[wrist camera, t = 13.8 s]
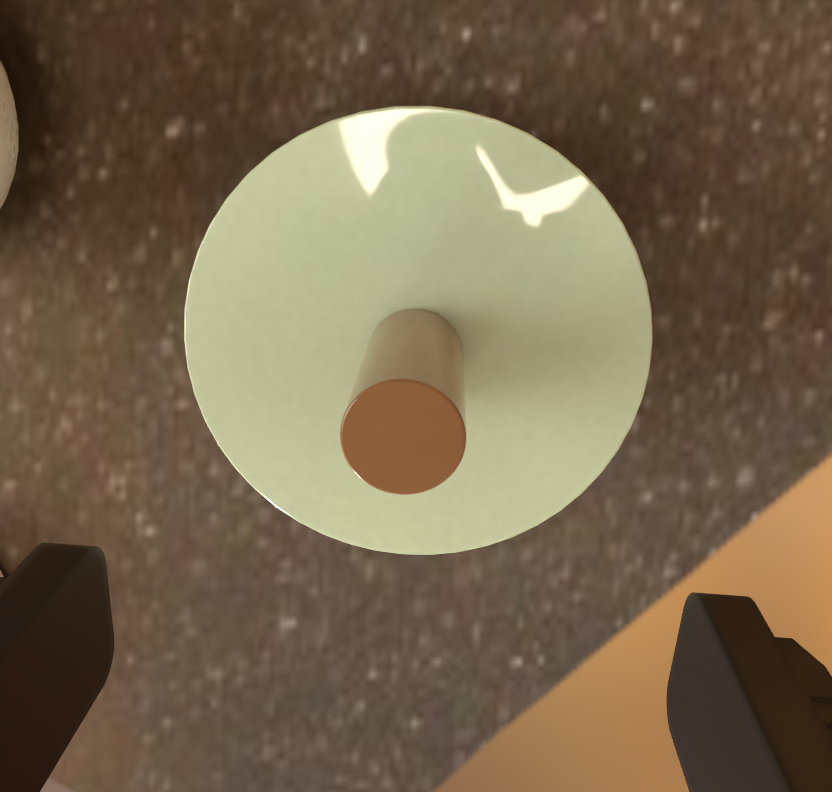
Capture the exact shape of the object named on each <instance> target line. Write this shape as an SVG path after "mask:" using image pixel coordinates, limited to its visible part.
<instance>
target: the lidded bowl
mask: <svg viewBox="0 0 832 792" xmlns="http://www.w3.org/2000/svg"><path fill="white" fill-rule="evenodd" d="M17 155H18V121H17V114H16V108H15V101H14V97H13V94H12V90H11V87H10V84H9V80H8V77H7V74H6V71H5V69H4V67H3V65H2V62H1V60H0V209H1V207H2V205H3V203H4V201H5V199H6V197H7V195H8V192H9V189H10V186H11V183H12V180H13V177H14V174H15V169H16V162H17Z"/></svg>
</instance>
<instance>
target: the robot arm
mask: <svg viewBox="0 0 832 792" xmlns="http://www.w3.org/2000/svg"><path fill="white" fill-rule="evenodd" d="M113 652H114V633H113V624H112V614H111V605H110V596H109V587H108V577H107V568H106V560H105V556H104V553H103V551H102V550H101V549H100V548H99V547H95V546H82V545H68V544H55V543H41V544H40V545H38V546H37V547H36V548H35V549H34V550H33V551H32V552H31V553H30V554H29V555H28V556H27V557H26V558H25V559H24V560H23V561H22V562H21V564H20V565H19V566H18V567H17V568H16V569H15V570H14V571H13V572H12V573H11V574H10V575H9V576H8V577H0V792H40V791H41V789H42V787H43V786H44V784H45V782H46V781H47V779H48V777H49V776H50V774H51V772H52V771H53V769H54V767H55V766H56V764H57V762H58V761H59V759H60V757H61V756H62V754H63V752H64V751H65V749H66V747H67V746H68V744H69V742H70V741H71V739H72V737H73V736H74V734H75V732H76V731H77V729H78V727H79V726H80V724H81V723H82V721H83V719H84V718H85V716H86V714H87V713H88V711H89V709H90V708H91V706H92V704H93V703H94V701H95V699H96V698H97V696H98V694H99V693H100V691H101V689H102V688H103V686H104V684H105V682H106V679H107V677H108V674H109V671H110V668H111V664H112V659H113ZM667 716H668V723H669V729H670V733H671V736H672V739H673V742H674V745H675V748H676V752H677V755H678V758H679V761H680V764H681V767H682V770H683V773H684V776H685V779H686V782H687V786H688V788H689V792H832V677H831V675H830V673H829V672H828V670H827V669H826V667H825V666H824V665H823V664H821V663H820V662H819V661H818V660H817V659H815V658H814V657H813V656H812V655H811V654H810V653H809V652H807V651H806V650H805V649H804V648H803V647H801V646H800V645H799V644H798V643H797V642H796V641H795V640H793V639H792V638H778V637H774V635H773V633H772V632H771V630H770V628H769V627H768V625H767V623H766V621H765V620H764V618H763V616H762V615H761V612H760V611H759V609H758V607H757V605H756V604H755V602H754V601H753V600H752V599H751V598H750V597H746V596H732V595H719V594H706V593H691V594H690V595H689V596H688V597H687V599H686V602H685V605H684V609H683V614H682V619H681V624H680V629H679V633H678V638H677V643H676V647H675V652H674V657H673V662H672V667H671V671H670V676H669V681H668V687H667Z"/></svg>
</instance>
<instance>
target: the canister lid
mask: <svg viewBox="0 0 832 792" xmlns="http://www.w3.org/2000/svg"><path fill="white" fill-rule="evenodd" d="M184 342H185V350H186V358H187V367H188V371H189V375H190V378H191V382H192V386H193V390H194V394H195V397H196V399H197V402H198V404H199V407H200V409H201V412H202V414H203V417H204V419H205V422H206V423H207V425H208V427H209V429H210V431H211V432H212V434H213V436H214V438H215V440H216V441H217V443H218V445H219V447H220V448H221V449H222V451H223V452H224V453H225V455H226V456H227V458H228V459H229V460H230V462H231V463H232V464H233V466H234V467H235V468H236V470H237V471H238V472H239V473H240V474H241V475H242V476H243V477H244V478H245V479H246V480H247V481H248V482H249V483H250V484H251V486H252V487H253V488H254V489H255V490H257V491H258V492H259V493H260V494H261V495H262V496H264V497H265V498H266V499H267V500H268V501H270V502H271V503H272V504H273V505H274V506H276V507H277V508H279V509H280V510H282V511H283V512H285V513H286V514H288V515H289V516H291V517H292V518H294V519H295V520H297V521H298V522H300V523H302V524H304V525H306V526H308V527H310V528H312V529H314V530H316V531H318V532H320V533H322V534H324V535H326V536H329V537H332V538H335V539H337V540H340V541H343V542H345V543H348V544H351V545H356V546H360V547H364V548H368V549H372V550H376V551H383V552H391V553H398V554H423V555H432V554H443V553H453V552H461V551H465V550H470V549H475V548H480V547H484V546H488V545H491V544H494V543H497V542H500V541H503V540H506V539H508V538H511V537H514V536H516V535H518V534H520V533H522V532H524V531H526V530H528V529H531V528H533V527H535V526H537V525H538V524H540V523H542V522H543V521H545V520H546V519H548V518H550V517H551V516H553V515H554V514H556V513H557V512H559V511H561V510H562V509H563V508H564V507H565V506H567V505H568V504H569V503H570V502H572V501H573V500H574V499H575V498H577V497H578V496H579V495H580V494H581V493H582V492H583V491H584V490H585V489H586V488H587V487H588V486H589V485H590V484H591V483H592V482H593V481H594V480H595V479H596V478H597V477H598V476H599V475H600V474H601V473H602V471H603V470H604V469H605V467H606V466H607V464H608V463H609V462H610V460H611V459H612V458H613V456H614V455H615V454H616V452H617V451H618V449H619V448H620V446H621V444H622V442H623V440H624V439H625V437H626V435H627V433H628V431H629V430H630V428H631V426H632V424H633V421H634V419H635V416H636V414H637V411H638V409H639V406H640V404H641V401H642V399H643V395H644V391H645V387H646V383H647V379H648V374H649V370H650V361H651V352H652V342H653V335H652V310H651V304H650V298H649V293H648V287H647V282H646V278H645V275H644V272H643V269H642V266H641V263H640V260H639V257H638V254H637V251H636V249H635V247H634V244H633V242H632V240H631V238H630V236H629V234H628V232H627V230H626V228H625V226H624V224H623V222H622V221H621V219H620V218H619V216H618V215H617V213H616V212H615V211H614V209H613V208H612V206H611V205H610V203H609V202H608V200H607V199H606V197H605V196H604V195H603V194H602V193H601V191H600V190H599V189H598V188H597V187H596V186H595V185H594V184H593V183H592V182H591V181H590V179H589V178H588V177H587V176H586V175H585V174H584V173H583V172H582V171H581V170H580V169H579V168H577V167H576V166H575V165H574V164H572V163H571V162H570V161H569V160H568V159H566V158H565V157H564V156H563V155H562V154H560V153H559V152H558V151H557V150H555V149H553V148H552V147H550V146H549V145H547V144H545V143H544V142H542V141H540V140H539V139H537V138H535V137H534V136H532V135H531V134H529V133H527V132H525V131H523V130H521V129H518V128H516V127H514V126H512V125H509V124H507V123H505V122H502V121H500V120H498V119H495V118H492V117H488V116H484V115H481V114H477V113H473V112H470V111H466V110H462V109H454V108H446V107H439V106H431V105H422V106H392V107H385V108H379V109H372V110H365V111H361V112H358V113H354V114H351V115H348V116H344V117H341V118H337V119H334V120H331V121H328V122H326V123H324V124H322V125H320V126H317V127H315V128H313V129H311V130H309V131H306V132H304V133H302V134H300V135H298V136H297V137H295V138H294V139H292V140H291V141H289V142H287V143H286V144H284V145H283V146H281V147H280V148H278V149H277V150H275V151H273V152H272V153H271V154H270V155H269V156H267V157H266V158H265V159H264V160H263V161H262V162H260V163H259V164H258V165H257V166H256V167H255V168H254V169H252V170H251V171H250V172H249V173H248V174H247V175H246V176H245V177H244V178H243V180H242V181H241V182H240V183H239V184H238V185H237V187H236V188H235V189H234V190H233V191H232V192H231V193H230V195H229V196H228V197H227V198H226V200H225V201H224V203H223V204H222V206H221V208H220V209H219V211H218V212H217V214H216V215H215V217H214V218H213V220H212V222H211V223H210V225H209V227H208V230H207V232H206V234H205V236H204V238H203V240H202V243H201V245H200V247H199V249H198V251H197V255H196V258H195V261H194V265H193V268H192V271H191V275H190V278H189V283H188V290H187V296H186V303H185V310H184Z"/></svg>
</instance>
